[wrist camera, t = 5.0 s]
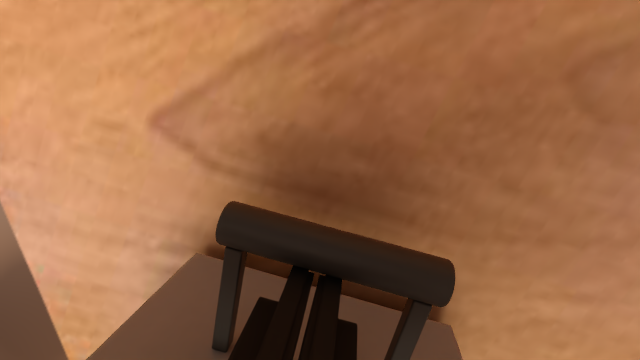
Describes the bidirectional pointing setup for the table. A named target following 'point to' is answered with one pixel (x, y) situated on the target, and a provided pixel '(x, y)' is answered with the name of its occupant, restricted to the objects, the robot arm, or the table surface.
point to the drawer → (249, 284)
